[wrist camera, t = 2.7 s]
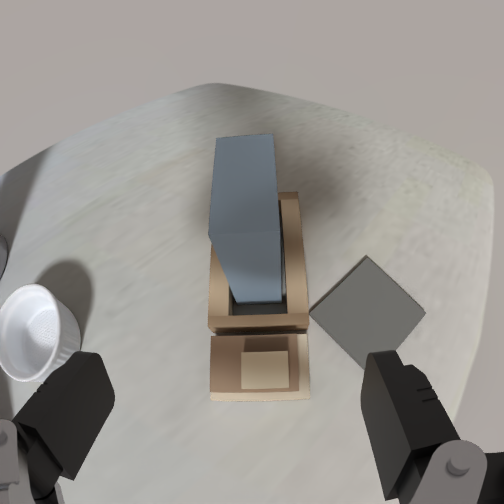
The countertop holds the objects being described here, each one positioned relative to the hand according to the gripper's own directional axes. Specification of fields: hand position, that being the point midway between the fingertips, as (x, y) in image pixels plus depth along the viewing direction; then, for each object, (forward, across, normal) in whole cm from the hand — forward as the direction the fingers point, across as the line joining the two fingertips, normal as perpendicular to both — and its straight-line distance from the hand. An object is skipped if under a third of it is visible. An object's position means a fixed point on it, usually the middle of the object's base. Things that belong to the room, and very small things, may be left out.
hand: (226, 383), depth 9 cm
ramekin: (+13, +20, +8) cm, 25 cm away
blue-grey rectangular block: (+18, 0, +3) cm, 19 cm away
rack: (+16, 0, +5) cm, 17 cm away
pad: (+15, -9, +6) cm, 18 cm away
